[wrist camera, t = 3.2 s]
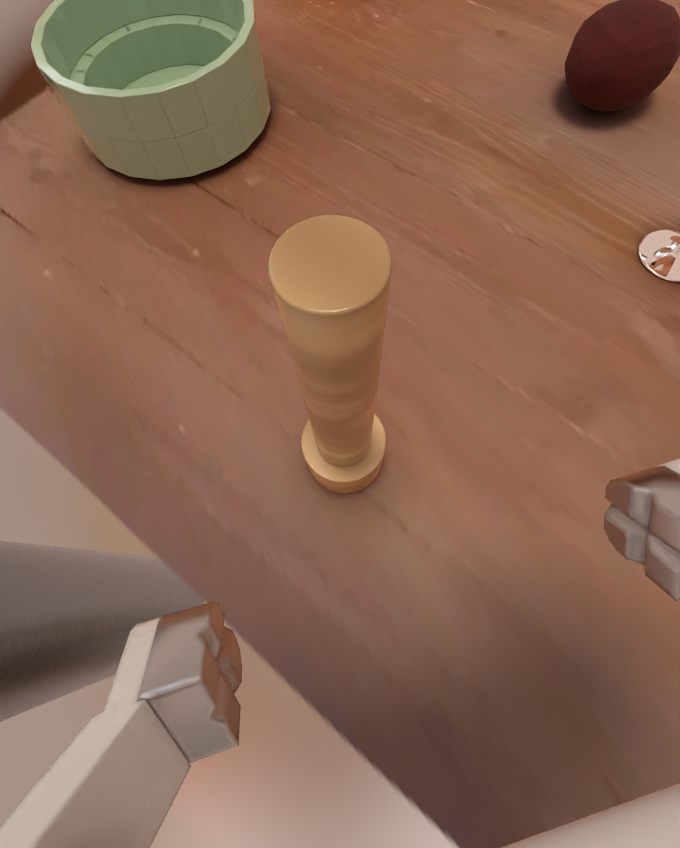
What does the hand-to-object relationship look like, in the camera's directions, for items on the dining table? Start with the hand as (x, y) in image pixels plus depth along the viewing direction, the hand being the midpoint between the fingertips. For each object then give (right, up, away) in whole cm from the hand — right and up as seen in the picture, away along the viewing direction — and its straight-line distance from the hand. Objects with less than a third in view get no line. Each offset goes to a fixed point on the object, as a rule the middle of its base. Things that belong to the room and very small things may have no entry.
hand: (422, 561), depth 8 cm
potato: (+20, +30, +26) cm, 44 cm away
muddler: (-1, +1, +16) cm, 16 cm away
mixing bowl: (-15, +28, +26) cm, 42 cm away
